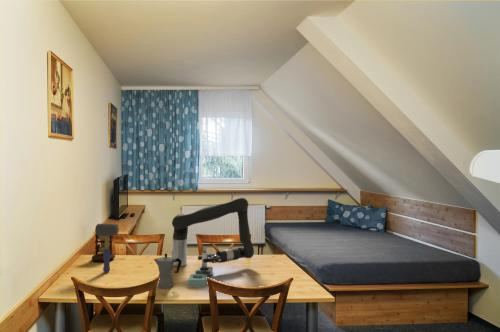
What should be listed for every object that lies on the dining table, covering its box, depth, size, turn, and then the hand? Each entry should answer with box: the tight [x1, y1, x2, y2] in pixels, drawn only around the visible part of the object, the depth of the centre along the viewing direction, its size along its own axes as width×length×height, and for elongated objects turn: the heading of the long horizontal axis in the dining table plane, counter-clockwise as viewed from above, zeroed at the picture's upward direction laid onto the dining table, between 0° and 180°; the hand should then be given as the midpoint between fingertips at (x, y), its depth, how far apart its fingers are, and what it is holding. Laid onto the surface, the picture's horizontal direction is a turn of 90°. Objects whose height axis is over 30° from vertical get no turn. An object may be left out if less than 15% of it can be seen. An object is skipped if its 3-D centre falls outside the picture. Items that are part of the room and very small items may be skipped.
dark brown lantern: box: [91, 233, 116, 262], centre depth 247 cm, size 15×15×20 cm
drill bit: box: [201, 246, 208, 270], centre depth 219 cm, size 3×3×17 cm
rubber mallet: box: [95, 222, 120, 273], centre depth 221 cm, size 12×8×30 cm, turn 93°
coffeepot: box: [153, 253, 182, 290], centre depth 200 cm, size 15×9×18 cm, turn 89°
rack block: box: [187, 273, 207, 288], centre depth 204 cm, size 9×9×4 cm
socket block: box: [194, 265, 214, 277], centre depth 219 cm, size 9×9×4 cm
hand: (200, 259), depth 218 cm, fingers open, 6 cm apart
